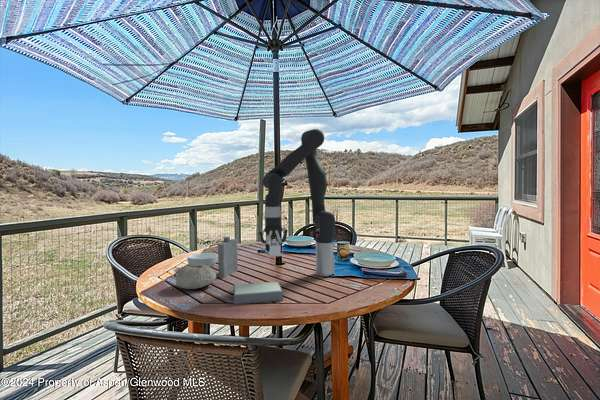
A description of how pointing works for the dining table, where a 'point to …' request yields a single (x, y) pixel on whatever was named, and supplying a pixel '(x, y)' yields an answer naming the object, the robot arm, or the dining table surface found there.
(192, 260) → the cereal bowl
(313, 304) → the dining table surface
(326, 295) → the dining table surface
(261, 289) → the stand
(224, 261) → the hip flask
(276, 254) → the housing
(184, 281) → the beige squat rounded piece
